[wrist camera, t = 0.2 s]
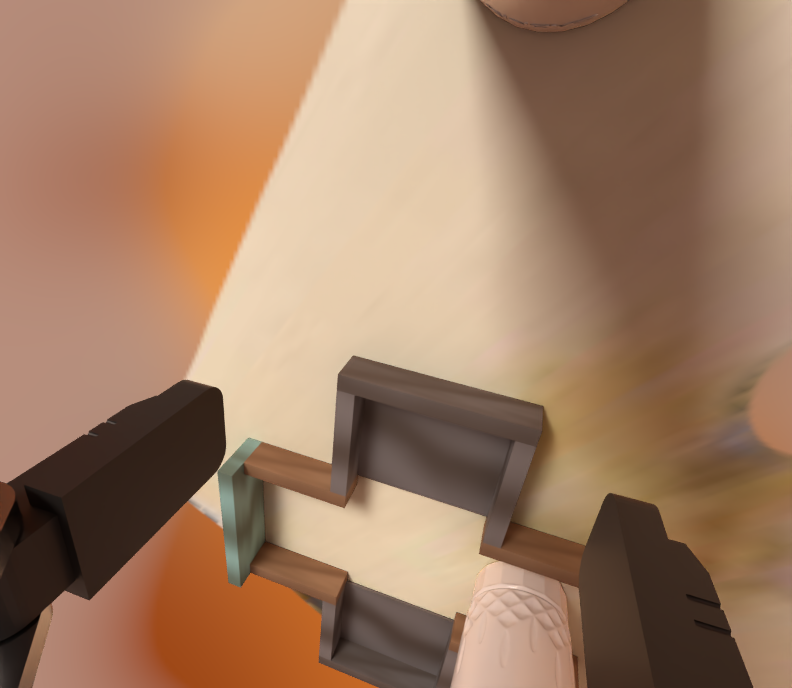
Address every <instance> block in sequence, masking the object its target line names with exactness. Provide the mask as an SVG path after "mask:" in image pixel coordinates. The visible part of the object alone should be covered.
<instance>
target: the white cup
mask: <svg viewBox="0 0 792 688" xmlns="http://www.w3.org/2000/svg"><path fill="white" fill-rule="evenodd" d="M450 688H575V675H574V665H573V658H572V645H571V637H570V632H569V627H568V613H567V598H566V595H565V593H564V591H563V589H562V586H561V584H560V582H559V581H557V580H554V579H551V578H548V577H545V576H543V575H540V574H537V573H534V572H531V571H528V570H525V569H522V568H519V567H516V566H513V565H510V564H507V563H504V562H501V561H498V562H494V563H490V564H487V565H486V566H485V567H484V568H483V569H482V570H481V571H480V572H479V573H478V574H477V578H476V583H475V588H474V593H473V597H472V601H471V605H470V608H469V610H468V612H467V617H466V620H465V625H464V629H463V632H462V636H461V641H460V645H459V650H458V654H457V659H456V663H455V668H454V672H453V677H452V681H451V686H450Z"/></svg>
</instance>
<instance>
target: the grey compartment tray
mask: <svg viewBox="0 0 792 688" xmlns="http://www.w3.org/2000/svg"><path fill="white" fill-rule="evenodd" d="M542 422H543V406H540V405H537V404H533V403H529V402H525V401H522V400H518V399H514V398H510V397H507V396H503V395H499V394H495V393H492V392H488V391H484V390H480V389H477V388H473V387H469V386H465V385H462V384H458V383H454V382H450V381H447V380H443V379H439V378H435V377H432V376H428V375H424V374H420V373H417V372H413V371H409V370H405V369H402V368H398V367H394V366H390V365H387V364H383V363H379V362H375V361H372V360H368V359H364V358H360V357H357V356H352V358H351V359H350V360H349V361H348V363H347V364H346V365H345V366H344V368H343V369H342V370H341V371H340V372H339V374H338V382H337V397H336V412H335V427H334V442H333V457H332V464H329V463H325V462H322V461H319V460H316V459H313V458H310V457H307V456H304V455H301V454H297V453H294V452H291V451H288V450H285V449H282V448H279V447H276V446H273V445H269V444H266V443H263V442H260V441H257V440H254V439H251V438H248V439H247V440H246V441H245V442H244V443H243V444H242V445H241V446H240V447H239V448H238V450H237V451H236V452H235V453H234V454H233V455H232V456H231V457H230V458H229V459H228V460H227V461H226V463H225V464H224V465H223V466H222V467H221V468H220V469H219V470H218V481H219V491H220V501H221V511H222V521H223V531H224V540H225V551H226V561H227V571H228V581H229V583H231V584H234V585H236V586H238V587H241V586H242V585H243V583H244V582H245V580H246V578H247V577H248V575H249V574H250V573H253V574H255V575H258V576H260V577H263V578H266V579H268V580H271V581H273V582H276V583H278V584H281V585H284V586H286V587H289V588H291V589H294V590H297V591H299V592H302V593H304V594H307V595H309V596H312V597H315V598H317V599H320V600H322V601H323V606H322V621H321V636H320V651H319V663H321V664H324V665H326V666H329V667H331V668H333V669H336V670H338V671H340V672H343V673H345V674H348V675H350V676H352V677H355V678H357V679H360V680H362V681H364V682H367V683H369V684H372V685H374V686H376V687H379V688H450V686H451V681H452V677H453V672H454V668H455V663H456V659H457V654H458V650H459V645H460V641H461V636H462V632H463V629H464V625H465V620H466V617H467V616H465V615H463V614H460V613H456V616H455V619H454V620H452V619H449V618H446V617H444V616H441V615H438V614H436V613H433V612H430V611H428V610H425V609H422V608H420V607H417V606H414V605H412V604H409V603H406V602H404V601H401V600H398V599H396V598H393V597H390V596H388V595H385V594H382V593H380V592H377V591H374V590H372V589H369V588H366V587H364V586H361V585H358V584H356V583H353V582H350V581H348V580H347V573H348V572H346V571H344V570H341V569H338V568H335V567H333V566H330V565H327V564H325V563H322V562H319V561H317V560H314V559H311V558H308V557H306V556H303V555H300V554H298V553H295V552H292V551H289V550H287V549H284V548H281V547H279V546H276V545H273V544H271V543H268V542H265V527H264V497H263V481H266V482H269V483H272V484H275V485H278V486H281V487H284V488H287V489H290V490H293V491H296V492H299V493H301V494H304V495H307V496H310V497H313V498H316V499H319V500H322V501H325V502H328V503H331V504H334V505H337V506H340V507H343V508H345V506H346V504H347V502H348V500H349V499H350V497H351V495H352V493H353V491H354V489H355V487H356V485H357V479H358V475H359V476H362V477H366V478H369V479H372V480H375V481H378V482H381V483H384V484H387V485H390V486H394V487H397V488H400V489H403V490H406V491H409V492H412V493H415V494H418V495H421V496H425V497H428V498H431V499H434V500H437V501H440V502H443V503H446V504H449V505H452V506H456V507H459V508H462V509H465V510H468V511H471V512H474V513H477V514H480V515H483V516H487V517H486V521H485V524H484V528H483V534H482V540H481V546H480V552H479V554H481V555H484V556H487V557H490V558H493V559H496V560H498V561H501V562H504V563H507V564H510V565H513V566H516V567H519V568H522V569H525V570H528V571H531V572H534V573H537V574H540V575H543V576H545V577H548V578H551V579H554V580H557V581H560V582H563V583H566V584H569V585H572V586H575V587H578V588H579V571H580V564H581V559H582V555H583V552H584V549H585V547H586V546H584V545H581V544H578V543H574V542H571V541H568V540H565V539H562V538H559V537H556V536H553V535H549V534H546V533H543V532H540V531H537V530H534V529H531V528H528V527H525V526H521V525H518V524H515V523H512V522H510V520H511V518H512V515H513V512H514V509H515V506H516V503H517V501H518V498H519V495H520V492H521V489H522V486H523V484H524V481H525V478H526V475H527V472H528V470H529V467H530V464H531V461H532V458H533V455H534V453H535V450H536V447H537V444H538V441H539V439H540V436H541V433H542ZM572 658H573V665H574V675H575V688H579V683H578V659H577V657H576V656H573V655H572Z"/></svg>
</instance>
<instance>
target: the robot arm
mask: <svg viewBox="0 0 792 688" xmlns="http://www.w3.org/2000/svg"><path fill="white" fill-rule="evenodd" d="M480 1H481V2H482V3H483V4H485V5H486V6H487V7H488V8H489V9H490V10H491V11H492V12H493V13H494V14H495V15H496V16H498V17H500V18H501V19H503V20H505V21H507V22H509V23H511V24H513V25H514V26H516V27H520V28H524V29H528V30H533V31H537V32H557V31H566V30H570V29H573V28H577V27H581V26H585V25H588V24H590V23H592V22H594V21H596V20H598V19H600V18H602V17H604V16H606V15H608V14H610V13H612V12H614V11H615V10H616V9H618V8H619V7H620V6H622V5H623V4H624V3H626V2H627V1H628V0H480ZM225 451H226V436H225V421H224V406H223V395H222V392H221V391H220V390H219V389H218V388H216V387H212V386H209V385H205V384H201V383H197V382H193V381H190V380H182V381H180V382H178V383H177V384H175V385H173V386H172V387H170V388H169V389H167V390H166V391H164V392H163V393H161V394H160V395H158V396H154V397H151V398H148V399H146V400H143V401H140V402H137V403H135V404H132V405H130V406H128V407H126V408H125V409H123V410H121V411H120V412H118V413H117V414H115V415H114V416H112V417H110V418H109V419H108V420H107V422H106V423H101V424H99V425H98V426H96V427H95V428H93V429H92V430H90V431H89V433H88V435H82V436H81V437H79V438H78V439H76V440H75V441H73V442H71V443H70V444H68V445H67V446H65V447H63V448H62V449H60V450H59V451H57V452H56V453H54V454H53V455H51V456H49V457H48V458H46V459H45V460H43V461H41V462H40V463H38V464H37V465H35V466H34V467H32V468H31V469H29V470H27V471H26V472H24V473H23V474H21V475H20V476H18V477H16V478H15V479H14V480H12V481H10V482H8V483H4V482H0V688H32V686H33V682H34V679H35V676H36V672H37V669H38V665H39V662H40V658H41V655H42V651H43V648H44V644H45V641H46V637H47V634H48V630H49V627H50V623H51V620H52V615H53V607H52V604H51V603H52V602H53V601H54V600H55V599H56V598H57V597H58V596H59V595H60V594H61V593H62V592H63V591H67V592H70V593H72V594H75V595H78V596H80V597H82V598H85V599H87V600H90V599H91V598H92V597H93V596H94V595H95V594H96V593H97V592H98V591H99V590H100V589H101V588H102V587H103V586H104V585H105V584H106V583H107V582H108V581H109V580H110V579H111V578H112V577H113V576H114V575H115V574H116V573H117V572H118V571H119V570H120V569H121V568H122V567H123V566H124V565H125V564H126V563H127V562H128V561H129V560H130V559H131V558H132V557H133V556H134V555H135V554H136V553H137V552H138V551H139V550H140V549H141V548H142V547H143V545H145V544H146V543H147V542H148V541H149V539H150V538H152V536H154V534H155V533H156V532H157V531H158V530H159V529H160V528H161V527H162V526H163V525H164V524H165V523H166V522H167V521H168V520H169V519H170V518H171V517H172V516H173V515H174V514H175V513H176V512H177V511H178V510H179V509H180V508H181V507H182V506H183V505H184V504H185V503H186V502H187V501H188V500H189V499H190V498H191V497H192V496H193V495H194V494H195V493H196V492H197V491H198V490H199V489H200V488H201V487H202V486H203V485H204V484H205V483H206V482H207V481H208V480H209V479H210V478H211V477H212V476H213V475H214V474H215V472H216V471H217V470H218V468H219V467H220V465H221V463H222V461H223V458H224V455H225ZM579 595H580V606H581V618H582V629H583V641H584V653H585V664H586V676H587V688H753V685H752V683H751V680H750V678H749V675H748V672H747V670H746V667H745V665H744V662H743V660H742V657H741V655H740V652H739V649H738V647H737V644H736V642H735V639H734V638H732V637H731V629H730V626H729V624H728V621H727V619H726V616H725V614H724V611H723V610H721V609H720V605H721V603H720V601H719V598H718V596H717V593H716V590H715V588H714V585H713V583H712V580H711V578H710V575H709V573H708V572H707V570H706V569H705V568H704V567H703V565H702V564H701V563H700V562H699V560H698V559H697V558H696V557H695V555H694V554H693V553H692V552H691V550H690V549H689V548H688V547H687V545H686V544H684V543H680V542H677V541H673V540H669V539H668V537H667V534H666V531H665V528H664V525H663V522H662V519H661V516H660V513H659V510H658V508H657V507H656V506H655V505H654V504H650V503H646V502H643V501H639V500H635V499H631V498H627V497H624V496H620V495H616V494H612V493H609V494H608V495H607V496H606V497H605V499H604V501H603V504H602V506H601V509H600V511H599V514H598V516H597V519H596V521H595V524H594V526H593V529H592V531H591V534H590V537H589V539H588V542H587V544H586V547H585V549H584V552H583V555H582V559H581V564H580V571H579Z"/></svg>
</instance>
